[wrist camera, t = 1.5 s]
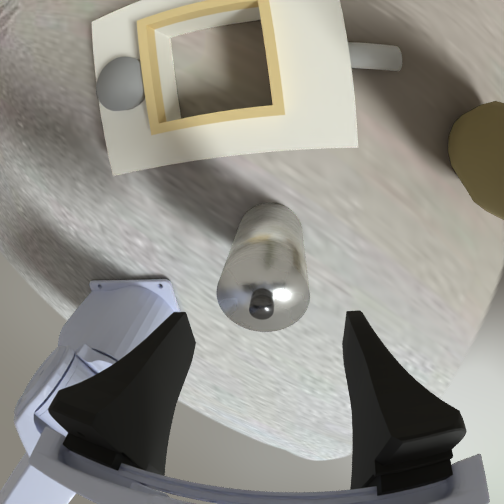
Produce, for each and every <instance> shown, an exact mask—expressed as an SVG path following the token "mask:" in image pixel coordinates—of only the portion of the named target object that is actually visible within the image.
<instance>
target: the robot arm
mask: <svg viewBox="0 0 504 504" xmlns="http://www.w3.org/2000/svg"><path fill="white" fill-rule="evenodd" d="M160 284H162V286H161V285H160ZM89 286H90V289H91V293H90V294H89V295H88V296H87V297H86V298H85V300H84V301H83V302H82V303H81V304H80V306H79V307H78V308H77V309H76V311H75V312H74V313H73V314H72V315H71V317H70V318H69V319H68V320H67V322H66V323H65V324H64V326H63V328H62V330H61V332H60V335H59V341H58V347H57V348H56V349H55V350H54V351H53V352H52V353H51V354H50V355H49V356H48V357H47V358H46V360H45V361H44V362H43V363H42V364H41V366H40V367H39V368H38V370H37V371H36V373H35V374H34V375H33V377H32V378H31V380H30V382H29V383H28V385H27V387H26V389H25V391H24V393H23V395H22V396H21V397H20V399H19V400H18V402H17V405H16V407H15V411H14V414H15V416H14V424H15V427H16V429H17V432H18V434H19V437H20V439H21V441H22V443H23V446H24V448H25V450H26V453H25V454H24V456H23V457H22V459H21V460H20V462H19V463H18V465H17V466H16V467H15V469H14V471H13V472H12V474H11V475H10V477H9V478H8V480H7V481H6V483H5V484H4V486H3V488H2V489H1V491H0V504H68V503H69V502H70V500H71V499H72V498H73V496H74V495H75V494H76V493H77V494H79V495H81V496H83V497H85V498H86V499H88V500H90V501H93V502H95V503H97V504H194V503H190V502H185V501H181V500H177V499H173V498H170V497H169V496H168V495H167V494H165V493H162V492H166V493H170V494H173V495H177V496H182V497H187V498H191V499H196V500H201V501H206V502H212V503H218V504H488V503H489V502H490V500H489V493H488V487H487V481H486V476H485V471H484V467H483V462H482V457H481V454H477V455H475V456H472V457H469V458H466V459H464V460H461V461H458V462H456V463H454V464H452V465H451V461H450V459H451V458H452V457H453V454H452V449H453V448H454V447H455V446H456V445H457V444H458V443H459V442H460V441H461V440H462V439H463V437H464V436H465V434H466V428H465V424H464V421H463V418H462V416H461V414H460V411H459V410H457V409H455V408H454V407H452V406H450V405H448V404H447V403H445V402H444V401H442V400H441V399H439V398H438V397H436V396H435V395H434V394H432V393H431V392H430V391H428V390H427V389H426V388H425V387H424V386H422V385H421V384H420V383H419V382H417V381H416V380H415V379H414V378H413V377H412V376H411V375H410V374H409V373H408V372H407V371H406V370H405V369H404V368H403V367H402V366H401V365H400V364H399V363H398V361H397V360H396V359H395V358H394V357H393V355H392V354H391V353H390V352H389V351H388V349H387V348H386V347H385V345H384V344H383V343H382V341H381V340H380V339H379V337H378V336H377V334H376V333H375V332H374V330H373V329H372V327H371V326H370V324H369V323H368V321H367V319H366V318H365V316H364V315H363V313H362V312H361V311H347V313H346V321H345V329H344V336H343V343H342V345H343V359H344V368H345V373H346V379H347V384H348V390H349V396H350V402H351V409H352V429H353V455H352V477H351V489H350V490H341V491H327V492H299V493H298V492H295V493H294V492H265V491H251V490H241V489H232V488H224V487H217V486H211V485H205V484H199V483H193V482H189V481H184V480H180V479H175V478H171V477H167V476H164V475H165V474H164V473H165V463H166V453H167V446H168V440H169V434H170V429H171V424H172V419H173V415H174V410H175V406H176V403H177V400H178V397H179V394H180V392H181V389H182V386H183V384H184V381H185V378H186V376H187V373H188V370H189V368H190V365H191V362H192V358H193V354H194V349H195V344H196V342H195V339H194V336H193V333H192V330H191V327H190V324H189V321H188V317H187V314H186V312H180V309H179V306H178V303H177V300H176V297H175V293H174V290H173V287H172V284H171V282H170V281H169V280H167V279H149V280H93V281H91V282H90V283H89ZM154 489H155V490H154ZM157 490H158V491H157ZM160 491H162V492H160Z"/></svg>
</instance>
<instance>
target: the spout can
mask: <svg viewBox="0 0 504 504" xmlns="http://www.w3.org/2000/svg"><path fill="white" fill-rule="evenodd" d="M217 300H218V303H219V305H220V307H221V309H222V311H223V312H224V313H225V315H226V316H227V317H228V318H229V319H230V320H232V321H233V322H234V323H236V324H238V325H239V326H241V327H244V328H246V329H249V330H253V331H260V332H271V331H278V330H281V329H284V328H287V327H289V326H291V325H293V324H294V323H296V322H297V321H298V320H299V319H300V318H301V317H302V316H303V315H304V313H305V312H306V310H307V307H308V305H309V300H310V293H309V283H308V274H307V265H306V256H305V248H304V240H303V232H302V226H301V223H300V220H299V219H298V217H297V216H296V214H295V213H294V212H293V211H292V210H290V209H289V208H287V207H285V206H283V205H280V204H276V203H263V204H260V205H257V206H255V207H253V208H251V209H250V210H249V211H248V212H247V213H246V214H245V215H244V216H243V218H242V220H241V222H240V225H239V227H238V230H237V233H236V235H235V238H234V241H233V244H232V246H231V249H230V252H229V255H228V257H227V260H226V263H225V266H224V268H223V271H222V274H221V277H220V280H219V282H218V286H217Z"/></svg>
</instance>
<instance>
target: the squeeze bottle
mask: <svg viewBox="0 0 504 504" xmlns="http://www.w3.org/2000/svg"><path fill="white" fill-rule="evenodd" d="M448 154H449V158H450V162H451V166H452V167H453V169H454V171H455V172H456V174H457V176H458V177H459V179H460V180H461V182H462V183H463V185H464V186H465V188H466V190H467V191H468V193H469V195H470V196H471V198H472V200H473V201H474V202H475V203H476V204H478V205H479V206H480V207H482V208H483V209H484V210H486V211H487V212H489V213H491V214H493V215H495V216H497V217H499V218H501V219H503V220H504V103H501V102H497V101H494V102H490V103H486V104H483V105H480V106H478V107H476V108H475V109H473V110H471V111H469V112H467V113H465V114H463V115H462V116H461V117H460V118H459V119H458V120H457V121H456V122H455V123H454V124H453V127H452V130H451V132H450V135H449V142H448Z"/></svg>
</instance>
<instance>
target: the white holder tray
mask: <svg viewBox="0 0 504 504" xmlns="http://www.w3.org/2000/svg"><path fill="white" fill-rule="evenodd" d="M258 20H261V24H262V30H263V37H264V44H265V51H266V58H267V65H268V72H269V80H270V88H271V96H272V104H273V105H269V106H259V107H250V108H242V109H235V110H228V111H221V112H215V113H209V114H203V115H197V116H192V117H187V118H182V119H181V113H180V106H179V100H178V93H177V86H176V79H175V71H174V64H173V56H172V48H171V39H170V38H171V37H175V36H179V35H182V34H186V33H190V32H195V31H199V30H203V29H208V28H213V27H218V26H224V25H229V24H236V23H242V22H250V21H258ZM92 40H93V54H94V65H95V75H96V84H97V85H96V93H97V97H98V99H99V106H100V112H101V119H102V124H103V130H104V136H105V141H106V146H107V151H108V156H109V161H110V165H111V170H112V174H113V176H116V175H121V174H125V173H130V172H135V171H140V170H145V169H150V168H155V167H160V166H166V165H172V164H177V163H184V162H190V161H196V160H203V159H210V158H218V157H225V156H234V155H242V154H252V153H262V152H273V151H286V150H301V149H320V148H358V137H357V120H356V107H355V96H354V86H353V77H352V69H351V68H363V69H379V70H391V71H400V69H401V67H402V54H401V51H400V49H399V47H397V46H392V45H383V44H372V43H358V42H348V41H347V35H346V29H345V23H344V18H343V13H342V8H341V3H340V0H141V1H138V2H136V3H133V4H131V5H128V6H126V7H123V8H121V9H118V10H116V11H114V12H112V13H109V14H107V15H105V16H103V17H101V18H99V19H97V20H95V21H93V22H92Z"/></svg>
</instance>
